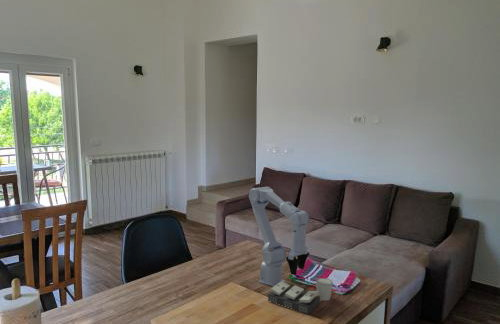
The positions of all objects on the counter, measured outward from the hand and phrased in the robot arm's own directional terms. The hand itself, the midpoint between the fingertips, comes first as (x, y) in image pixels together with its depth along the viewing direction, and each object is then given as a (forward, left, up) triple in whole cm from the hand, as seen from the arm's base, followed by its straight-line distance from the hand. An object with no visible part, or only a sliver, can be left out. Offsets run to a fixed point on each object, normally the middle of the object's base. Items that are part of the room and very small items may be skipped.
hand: (297, 271), depth 155 cm
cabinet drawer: (+9, -7, -6) cm, 13 cm away
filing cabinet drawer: (+2, -7, -6) cm, 10 cm away
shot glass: (+11, +4, -10) cm, 15 cm away
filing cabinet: (+2, -7, -10) cm, 13 cm away
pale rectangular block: (-4, -7, -6) cm, 10 cm away
